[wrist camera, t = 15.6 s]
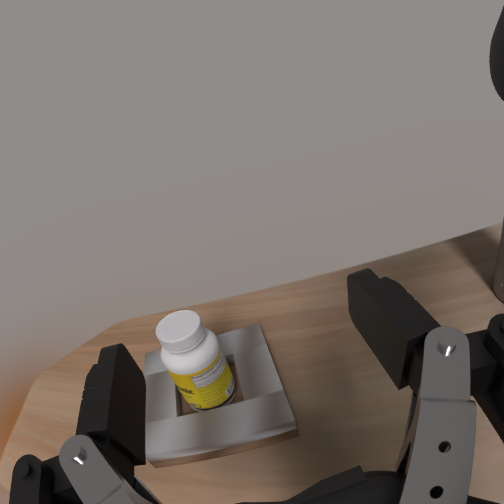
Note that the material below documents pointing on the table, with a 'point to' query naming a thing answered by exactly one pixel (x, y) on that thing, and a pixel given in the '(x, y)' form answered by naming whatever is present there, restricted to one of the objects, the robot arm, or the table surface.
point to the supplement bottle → (195, 361)
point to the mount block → (219, 419)
